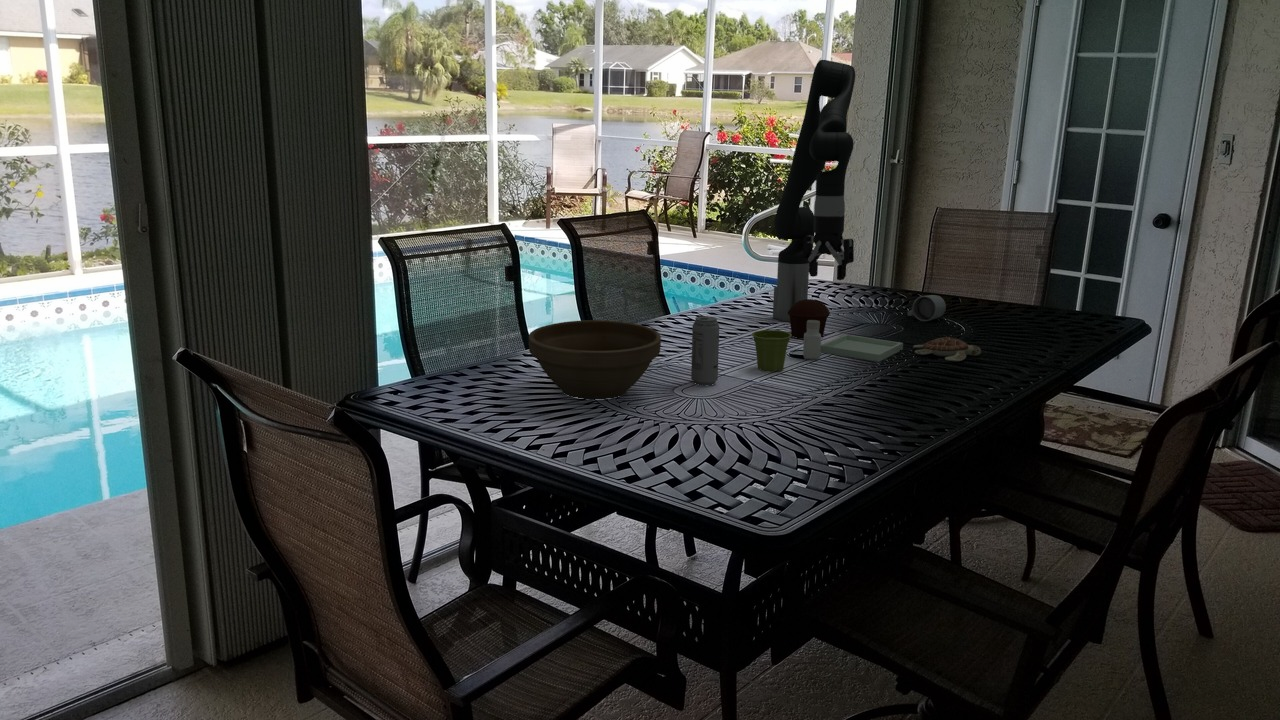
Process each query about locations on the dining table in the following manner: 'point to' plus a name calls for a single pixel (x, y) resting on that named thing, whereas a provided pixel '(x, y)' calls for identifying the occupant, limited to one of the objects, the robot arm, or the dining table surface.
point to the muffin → (807, 316)
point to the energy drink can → (705, 350)
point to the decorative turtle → (948, 349)
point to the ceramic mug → (928, 308)
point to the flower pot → (594, 355)
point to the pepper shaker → (812, 340)
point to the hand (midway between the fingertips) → (827, 277)
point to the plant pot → (771, 349)
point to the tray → (861, 347)
